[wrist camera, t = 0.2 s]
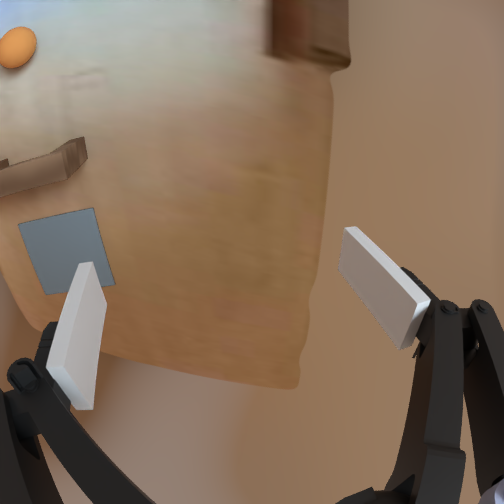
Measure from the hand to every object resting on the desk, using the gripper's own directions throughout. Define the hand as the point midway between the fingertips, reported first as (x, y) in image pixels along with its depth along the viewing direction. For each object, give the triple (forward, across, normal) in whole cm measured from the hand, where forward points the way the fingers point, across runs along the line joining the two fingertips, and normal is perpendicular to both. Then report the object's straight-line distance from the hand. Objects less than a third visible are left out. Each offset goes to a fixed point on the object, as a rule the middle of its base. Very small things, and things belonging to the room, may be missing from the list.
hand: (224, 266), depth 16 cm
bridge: (+28, -21, +2) cm, 35 cm away
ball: (+25, -21, +18) cm, 38 cm away
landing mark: (+28, -21, -13) cm, 37 cm away
